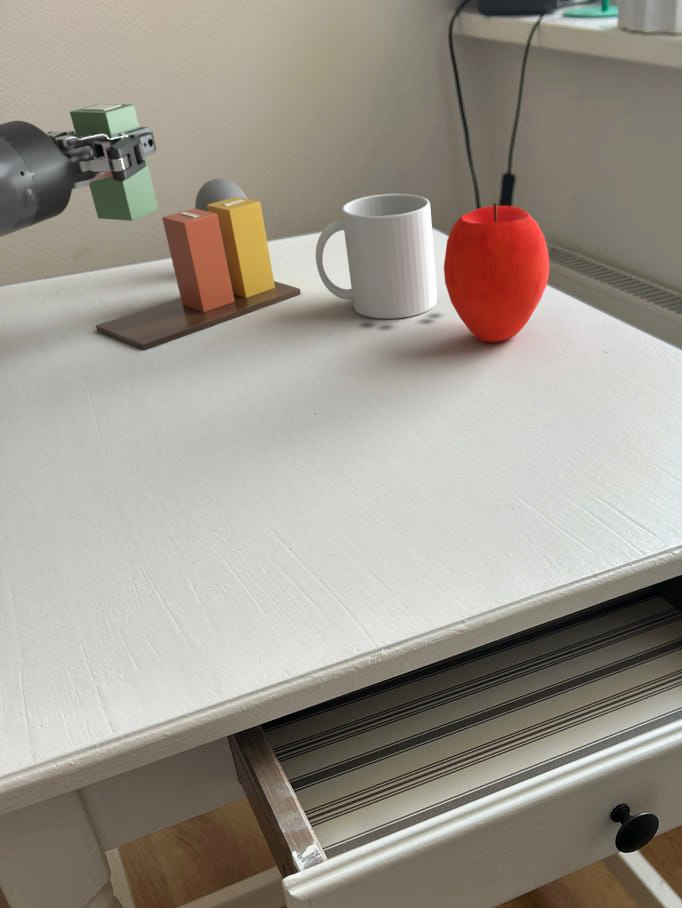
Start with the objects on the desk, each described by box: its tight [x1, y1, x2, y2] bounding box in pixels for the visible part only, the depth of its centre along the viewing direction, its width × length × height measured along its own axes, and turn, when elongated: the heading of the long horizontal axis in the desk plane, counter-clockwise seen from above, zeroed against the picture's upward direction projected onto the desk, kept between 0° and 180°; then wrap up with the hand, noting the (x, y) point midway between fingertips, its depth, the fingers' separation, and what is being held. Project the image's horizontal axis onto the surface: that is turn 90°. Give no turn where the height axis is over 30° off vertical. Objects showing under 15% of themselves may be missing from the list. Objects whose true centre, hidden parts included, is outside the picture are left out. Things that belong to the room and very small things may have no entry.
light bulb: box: [194, 178, 248, 212], centre depth 113 cm, size 6×6×10 cm
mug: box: [315, 193, 438, 320], centre depth 101 cm, size 11×10×10 cm
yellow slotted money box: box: [207, 197, 275, 298], centre depth 105 cm, size 4×4×9 cm
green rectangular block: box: [69, 103, 159, 222], centre depth 90 cm, size 4×4×9 cm
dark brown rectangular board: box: [95, 280, 302, 351], centre depth 105 cm, size 9×20×1 cm, turn 138°
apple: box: [443, 202, 550, 343], centre depth 91 cm, size 10×10×12 cm
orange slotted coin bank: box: [161, 207, 234, 312], centre depth 102 cm, size 4×4×9 cm
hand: (130, 138), depth 91 cm, fingers closed on green rectangular block, 4 cm apart
